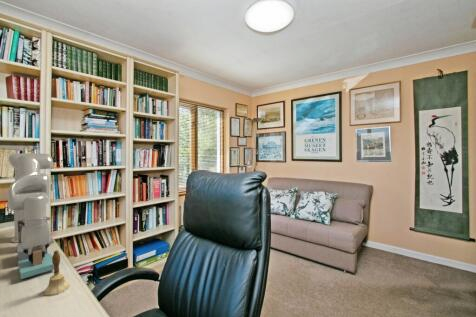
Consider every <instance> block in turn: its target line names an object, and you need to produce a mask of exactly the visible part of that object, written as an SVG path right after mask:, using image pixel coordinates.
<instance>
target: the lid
mask: <svg viewBox="0 0 476 317" xmlns="http://www.w3.org/2000/svg"><path fill="white" fill-rule="evenodd" d="M32 254H33V263H31V261H29V260H28V259H26V260H22V261H17V267H18V271H19V272H18V273H19V277H20V280H23V279H26V278H30V277H34V276H36V275H40V274H43V273H46V272H49V271H52V270H53V271H54V265H53V263H52V257H53V254H51V253H50V252H48V254H45V257H43V260H42V250H41V248H40V247H36V248H32Z"/></svg>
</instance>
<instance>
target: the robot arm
mask: <svg viewBox="0 0 476 317" xmlns="http://www.w3.org/2000/svg"><path fill="white" fill-rule="evenodd" d="M8 162H9V164H10V165H11V167H12V168H13V169H14V180H13V181H14V182H12V183H11V184H10V186H9V187H8V189H7V194H6V195H7V205H8V206H7V207H8V208H9V210H11V211H13V216H14V217H13V218H14V220H13V222H14V225H13V226H14V237H13V238H11V243H14V244H15V243H17V244H18V243H19V238H18V221H20V220H25V226H23V227H22V231H21V244H20V245H19V247H18V249H17V248H16V251H18V252H24V253H26V254H28V260H29V261H31V263H33V254H32V248H33V247H37V246H41V250H42V260H43V257H45V250H46V249H47V250H48V248H49V247H50V246H51V245H53V244H55V241H54V239H53V238H52V237H51V229H50V225H49V222H48V221H50V220H51V217H50V216H47V204H48V203H49V197H50V196H49V194H50V178H49V177H50V176H49V175H48V174H46V173H41V170H50V169H52V168H53V166H54V159H53V157H52V156H51V155H50V154H48V153H12V154H10V155H9V156H8ZM45 244H46V245H45ZM27 249H28V250H27Z"/></svg>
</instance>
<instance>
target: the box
mask: <svg viewBox="0 0 476 317" xmlns="http://www.w3.org/2000/svg"><path fill="white" fill-rule="evenodd" d="M20 244H21V243H19V242H18V243H17V244H16V247H17V248H16V251H17V249H18V247H19V245H20ZM45 245H46V244H45ZM37 247H40V248H41V246H37ZM33 248H36V247H33ZM27 250H28V249H27ZM45 254H49V252H48V248H47V249H46V250H45ZM26 259H28V254H26V253H24V252H18V251H17V260H18V261H22V260H26ZM18 261H17V262H18Z"/></svg>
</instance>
